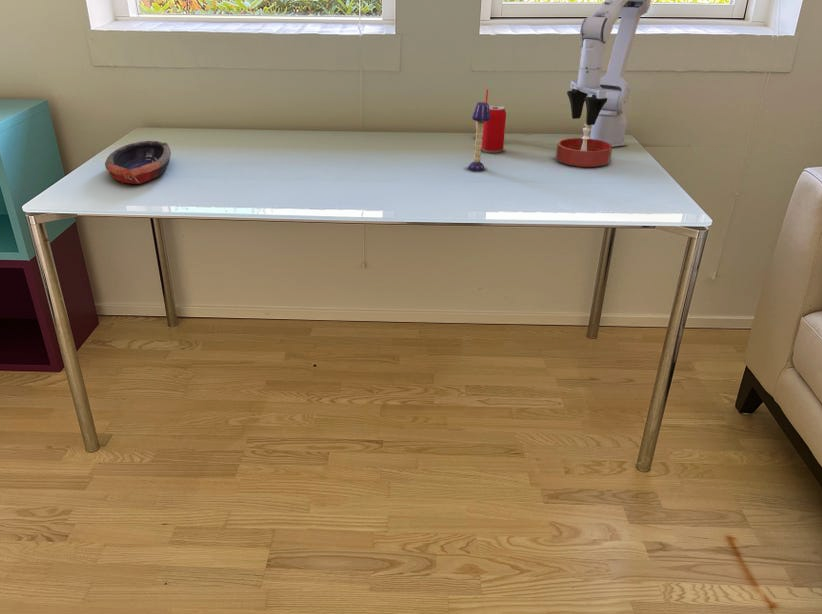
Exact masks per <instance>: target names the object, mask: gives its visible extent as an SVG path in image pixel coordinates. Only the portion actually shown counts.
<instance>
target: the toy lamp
mask: <svg viewBox="0 0 822 614" xmlns="http://www.w3.org/2000/svg"><path fill="white" fill-rule="evenodd" d="M485 102H486V101H485ZM485 102H484V101H479V102H477V103H476V104H475V107H474V110H473V113H472V117H471V119H472V121H475V122H476V121H477V128H476V127H475V131H476V130H477V133H476V132H475V139H474V140H475V141H474V143H475V144H474V154H473V155H474V157H473V161H472V162H470V163H469V165H468V167H467V168H468V170H469V171H471V172H482V171H484V170H485V165H484V164H483V162H481V156H482V137H483V133H482V132H483V125H484V121H489V120H490V111H489V102H487V103H485Z"/></svg>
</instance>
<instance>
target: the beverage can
mask: <svg viewBox="0 0 822 614" xmlns="http://www.w3.org/2000/svg"><path fill="white" fill-rule="evenodd" d="M488 105H489V104H488ZM505 108H506V107H505V106H504V105H499V104H498V105H497V104H491V105H489V111H490V120H489V121H484V125H483V132H482V133H483V137H482V144H481V145H482V149H481V151H483V152H484V153H488V154H497V153H500V152H501V151H503V150H504V146H505V132H506V120H507V111H506V109H505Z"/></svg>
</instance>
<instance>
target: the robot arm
mask: <svg viewBox="0 0 822 614" xmlns="http://www.w3.org/2000/svg"><path fill="white" fill-rule="evenodd" d="M651 2H652V0H604V1H602V2H601V4H600V5H599V6H598V7H597V9H596V10H595V11H594V13H592V15H588V16H587V17H585V18H584V19H583V20H582V23H581V26H580V30H579V37H580V43H579V45H580V47H579V48H580V49H581V50H580V51H581V53H580V60H579V67H578V75H577V80H571V81H570V89H571V90H567V91H566V95H567V97H568V99H569V104H570V111H571V119H573V120H576V119H578V120H579V119H581V116H582V114H583V109H584V104H585V107H586V117H585V123H586V124H587V125H589V126H590V129H591V130H590V132H589V138H590V139H597V140H601V141H605V142H607V143H610V144H611V145H612V148H614V147H615V148H616V147H624V146H626V144H625V143H624V142H625V137H626V130H627V124H628V123H627V117H626V114H625V113H624V112H625V111H626V110H627V107H628V103H629V96H630V91H631V89H630V85H629V84H628V82H627V81H626V80H625V79H624V75H625V71H626V68H627V64H628V60H629V57H630V53H631V50H632V46H633V43H634V39H635V36H636V32H637V29H638V25H639V23H640V20H641V17H642V16H643V15H645V14H647V13H648V11H649V8H650V5H651ZM620 17H621V18H620ZM619 18H620V21H619V25H618V29H617V32H616V35H615V40H614V43H613V47H612V51H611V54H610V58H609V62H608V65H607V69H606V72H605V75H603V76H602V71H603V63H604V57H605V51H606V45H607V44H606V43H607V42H608V41H609V39H610V37H611V34H612V32H613V29H614V25H615V24H616V22H617V21H618V19H619ZM588 95H589V96H588Z"/></svg>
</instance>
